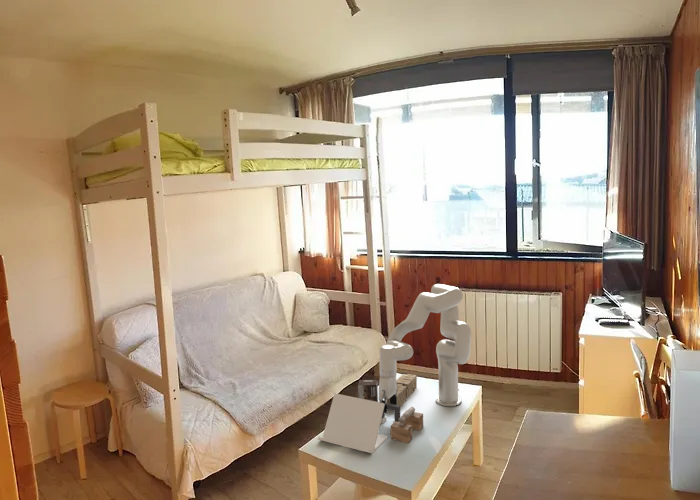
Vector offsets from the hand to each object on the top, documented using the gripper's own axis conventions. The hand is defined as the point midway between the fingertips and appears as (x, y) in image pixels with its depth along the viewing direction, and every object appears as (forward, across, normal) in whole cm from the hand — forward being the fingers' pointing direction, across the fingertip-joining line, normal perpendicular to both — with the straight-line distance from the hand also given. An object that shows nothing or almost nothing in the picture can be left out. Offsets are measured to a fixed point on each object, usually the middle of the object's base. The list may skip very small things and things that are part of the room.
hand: (388, 408), depth 240 cm
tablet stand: (+8, +21, -7) cm, 24 cm away
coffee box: (+8, -4, -13) cm, 16 cm away
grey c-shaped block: (+7, 0, 0) cm, 7 cm away
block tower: (+8, -28, -7) cm, 30 cm away
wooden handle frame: (+7, +4, +11) cm, 14 cm away
